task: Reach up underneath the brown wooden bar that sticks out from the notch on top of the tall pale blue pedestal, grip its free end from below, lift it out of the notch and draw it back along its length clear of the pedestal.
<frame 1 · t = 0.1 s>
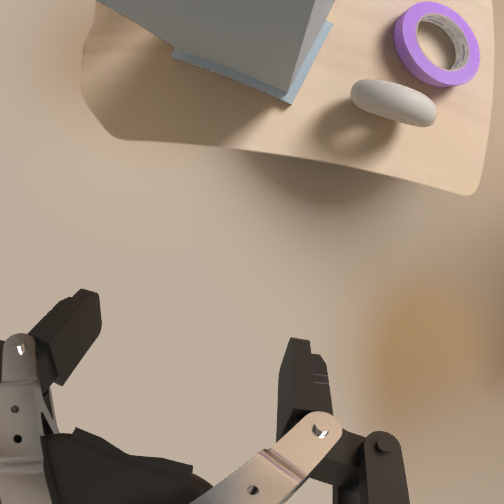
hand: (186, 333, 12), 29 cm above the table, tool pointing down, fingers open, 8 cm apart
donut: (379, 105, 34), on the table
pale blue pedestal: (251, 38, 31), on the table
masking tape: (430, 47, 29), on the table
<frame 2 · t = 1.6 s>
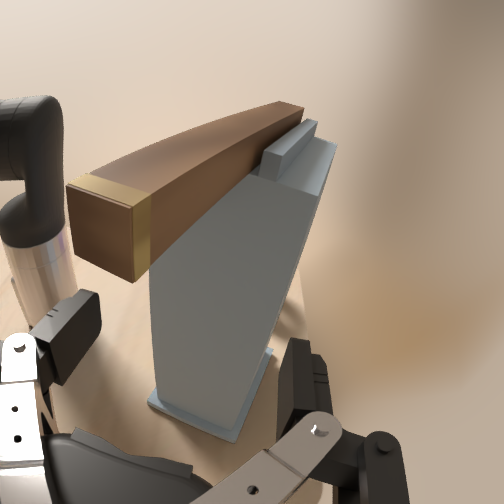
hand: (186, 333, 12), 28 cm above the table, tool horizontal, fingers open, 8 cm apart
brown wooden bar: (241, 158, 18), point 32 cm above the table, touching pale blue pedestal
pale blue pedestal: (214, 379, 41), on the table
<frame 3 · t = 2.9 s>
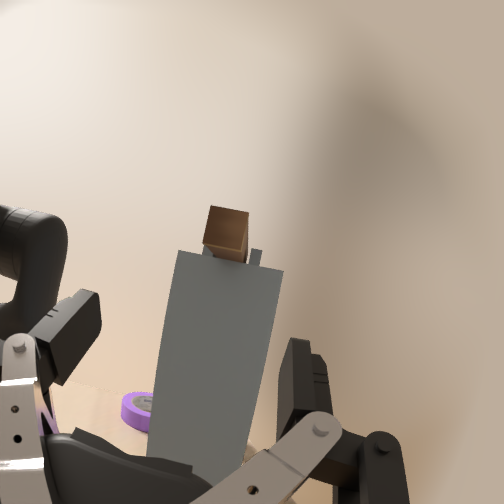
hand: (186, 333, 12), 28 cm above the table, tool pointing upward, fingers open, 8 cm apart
brown wooden bar: (231, 262, 31), point 32 cm above the table, touching pale blue pedestal
pale blue pedestal: (191, 493, 32), on the table
masking tape: (149, 420, 53), on the table
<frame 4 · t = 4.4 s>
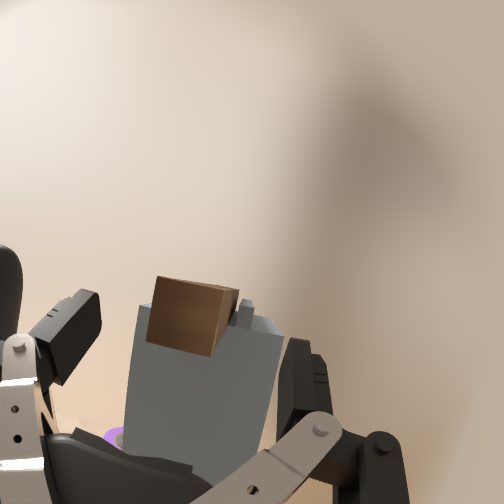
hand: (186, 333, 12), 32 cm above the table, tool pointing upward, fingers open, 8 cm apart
brown wooden bar: (212, 318, 22), point 32 cm above the table, touching pale blue pedestal
masking tape: (134, 459, 44), on the table
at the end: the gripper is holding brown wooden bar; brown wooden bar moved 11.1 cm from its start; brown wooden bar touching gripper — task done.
